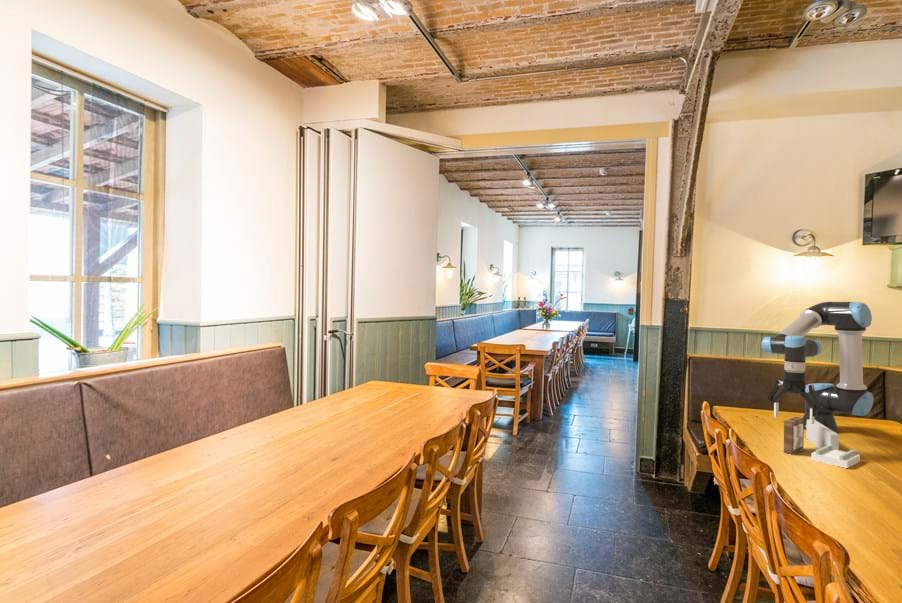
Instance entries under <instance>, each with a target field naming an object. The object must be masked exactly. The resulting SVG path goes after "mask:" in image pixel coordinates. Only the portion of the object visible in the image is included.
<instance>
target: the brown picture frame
mask: <svg viewBox="0 0 902 603" xmlns="http://www.w3.org/2000/svg"><path fill="white" fill-rule="evenodd" d="M804 432H805V429H804V418H803V417H800V416H795V417H791V418H789V419H788V418H787V419H784V420H783V454H785V453H786V454H785V455H789V454H791V455H790V456H793V455H795V454H797V453H796V452H798V453H800V452H802V451H804V434H805V433H804ZM801 450H802V451H801ZM799 451H800V452H799ZM794 453H795V454H794ZM792 454H793V455H792Z"/></svg>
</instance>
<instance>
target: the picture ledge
mask: <svg viewBox="0 0 902 603" xmlns="http://www.w3.org/2000/svg"><path fill="white" fill-rule="evenodd" d="M810 456H811V457H810V458H811V461H813V462H817V463H820V462H821V463H820V464H825V465H829V464H830V466H833V465H835V466H834V467H837V466H840V467H839V468H841V467H844V468H843V469H845V468H848V469H850V468H852V467H854V466H855V465H857V464H859V463H860V462H861V454H858V453H856V449H851V450H848V451H846V450H845V451H844V450H841V449H838V450H831V446H830V445H827V446H825V447H822V448H820V449H819V448H818V449H815V451H813V452H811V455H810ZM858 462H859V463H858ZM856 463H857V464H856ZM854 464H855V465H854ZM853 465H854V466H853ZM851 466H852V467H851ZM849 467H850V468H849Z"/></svg>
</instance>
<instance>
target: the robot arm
mask: <svg viewBox="0 0 902 603" xmlns="http://www.w3.org/2000/svg"><path fill="white" fill-rule="evenodd" d="M872 321H873V318H872V311H871V309H870V308H869V306H868V304H866V303H864V302H861V301H860V302H859V301H823V302H819V303H817V304H815V305H812V306H809V307H808V308H805V310H802V312H801V313H800V315H799V316H798V317H797V319H795V320H794V321H793V322H791V323H790V324H788V326H786V327H785V328H783V329H781V331H779V332H778V333H777V334H776V335H774V336H765V337H764V338H762V341H761V349H762V351H763V352H765V353H768V354H776V355H784V365H783V367H784V372H783V381H782V380H775V385H774V387H773V388H772V390H771V391H770V393H769V395H768V396H767V398H766V400H767V401H770V402H771V409H772V410H773V418H779V413H780V412H779V411H780V410H779V408H780V407H779V406H780V405H779V404H780V402H778V401H779V400H780V399H781V398H782V397H783V396H784V395H786V393H789V394H790V393H791V394H792V393H794V394H799V395H800V396H801V397H802V398H804V414H803V416H802V418H804V430H806V427H805V425H807V419H809V420H810V424H814V420H816V421H817V422H819V423H821V424H822V425H824V426H826V427H827V428H829V429H831V430H832V431H834V432H836V433H838V432H839V426H838V424H837V420H836V418H835V415H834V412H837V413H840V414H841V413H843V414H848V415H852V416H860V417H865V416H867V415H868V414H870V412H871V410H872V408H873V406H874V395H873V393H872V392H870V391H868V386H867V385H866V384H864V367H863V366H864V365H863V364H864V363H863V361H864V360H863V333H865V332H866V331H867V328H869V327H870V326H871V324H872ZM820 326H833V327H834V331H835V332H837V333H838V348H839V349H838V350H839V351H838V352H839V356H838V357H839V360H838V361H839V383H837V384H836V387H835V385H834V384H833V383H825V382H822V383H821V382H816V383H815V382H814V383H808V384H807V383H806V373H805V372H806V358H810V357H811V358H813V357H816V356H819V355H820V354H821V353H822V350H823V347H822V344H821V342H820V341H818V340H815V339H812V338H811V339H806V335H807V334H808V333H809V332H810V331H812V330H814V329H817V328H819V327H820ZM781 386H783V387H784V388H783V389H782V390H781V391H780V392H778V391H779V389H780V388H781ZM777 392H778V394H777ZM776 394H777V395H776Z"/></svg>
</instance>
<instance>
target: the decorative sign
mask: <svg viewBox="0 0 902 603" xmlns="http://www.w3.org/2000/svg"><path fill="white" fill-rule="evenodd" d="M805 427H806V429H805V430H806V432H805V434H806V436H805V438H806V440H807V439H808V440H807V441H808V442H810V443H811V442H812V443H811V444H813V445H814V446H815V445H816V448H818V449H819V448H822V447H825V446H827V445H830V446H831V450H839V444H840V443H839V441H840V440H839V439H840V436H839V434H838V432H834V431H832V430H831V429H829V428H827V427H826V426H824V425H822V424H821V423H819V422H817V421H816V420H814V424H810V420H809V419H807V425H805Z"/></svg>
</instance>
